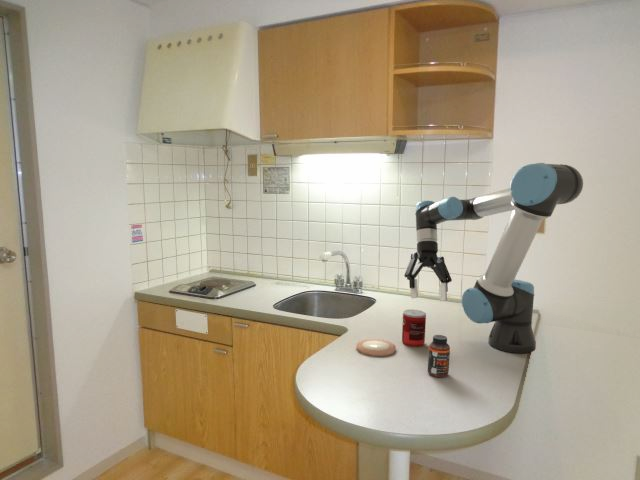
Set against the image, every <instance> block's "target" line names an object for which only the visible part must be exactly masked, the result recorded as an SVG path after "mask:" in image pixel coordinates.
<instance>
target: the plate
mask: <svg viewBox="0 0 640 480" xmlns="http://www.w3.org/2000/svg"><path fill="white" fill-rule="evenodd" d="M355 347H356V348H355V349H356V350H358V351H359V352H358V351H357V352H358V353H360V354H363V355H365V356H371V357H388V356H392V355H393V354H394V353H396V349H397V348H396V344H394V343H393V342H391V341H389V340H384V339H377V338H370V339H369V338H368V339H362V340H358V342H357V343H356V346H355Z"/></svg>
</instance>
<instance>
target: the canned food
mask: <svg viewBox="0 0 640 480" xmlns="http://www.w3.org/2000/svg"><path fill="white" fill-rule="evenodd" d="M426 320H427V313H426V312H425V311H422V310H420V309H406V310H403V312H402V325H401V326H402V330H401V331H402V333H401V337H402V338H401V341H402V342H401V343H403V345H405V346H408V347H412V348H414V347H415V348H418V347H419V348H420V347H423V346H424V345H425V341H426V326H427V325H426Z"/></svg>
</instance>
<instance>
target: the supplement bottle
mask: <svg viewBox="0 0 640 480" xmlns="http://www.w3.org/2000/svg"><path fill="white" fill-rule="evenodd" d="M450 352H451V347H450V344H449V343H448V337H447V336H445V335H442V334H435V335H433V336H432V341H431V342H430V343H429V345H428V356H427V357H428V360H427V362H428V363H427V374H428V375H430V376H432V377H433V378H434V377H435V378H445V377H447V376H448V375H449V370H450V355H451V353H450Z"/></svg>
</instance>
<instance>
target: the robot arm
mask: <svg viewBox="0 0 640 480" xmlns="http://www.w3.org/2000/svg"><path fill="white" fill-rule="evenodd" d="M583 188H584V179H583V176H582V174H581V173H580V171H579V170H577V169H576V168H575V167H573V166H572V165H568V164H559V163H558V164H557V163H556V164H554V163H545V162H536V163H530V164H527V165H524V166H522V167H520V168H519V169H518V170H517V171H516V172H515V173H514V175H513V176H512V178H511V181H510V186H509V188H506V189H501V190H498V191H494V192H490V193H486V194H483V195H481V196H477V197H473V198H469V199H459V198H458V197H456V196H450V197H446V198H443V199H441V200H439V201H436V202H434V201H433V200H423V201H419V202H417V203H416V205H415V226H416V242H417V243H416V252H412V253H411V254H410V260H409V262H408V264H407V268H406V270H405V273H404V278H406V280H408V282H409V289H410V297H411V299H417V298H419V290H418V287H419V286H418V279H417V277H418V275H419V273H420V272H421V271H422V269H423V268H428V269H429V268H430V269H431V270H433V272H434V273H435V275H436V276H437V279H438V280H439V282H440V283H439V294H440V295H439V297H440V302H446V301H448V294H447V293H448V291H449V289H448V284H449V283H452V281H453V280H452V277H451V274H450V272H449V270H448V267H447V265H446V262H445V258H444V256H443V255H442V256H438V251H439V247H438V245H439V243H438V227H437V226H438V224H441V223H445V222H448V221H449V222H450V221H468V220H470V221H471V220H472V221H477V220H480V219H483V218H484V217H488V216H493V215H497V214H502V213H506V212H511V213H510V217H509V218H508V221H507V223H506V226H505V227H504V230H503V232H502V234H501V236H500V239H499V242H498V243H497V246H496V248H495V251H494V253H493V255H492V256H491V260H490V262H489V264H488V266H487V269H486V271H485V273H484V274H481V275H479V276H478V277H477V279H476V282H475V284H474V286H473V287H469V288H467V289H466V290H465V291H464V292H463V294H462V296H461V305H462V308H463V311H464V313H465V315H466V317H467V318H468V319H469V320H470V321H471V322H473V323H475V324H490V323H493V322H494V323H493V326H492V328H491V329H490V330H491V331H490V332H489V335H488V345H489V346H491V347H492V348H495V349H496V350H500V351H503V352H507V353H514V354H529V353H532V352H534V351H536V346H537V342H536V338H535V334H534V331H533V327H532V325H533V312H534V311H533V310H534V300H535V298H534V297H535V286H534V284H532V283H531V282H529V281H524V280H520V279H516V277H517V274H518V273H519V271H520V268H521V266H522V264H523V262H524V261H525V258H526V257H527V253H528V252H529V250H530V247H531V245H532V243H533V241H534V239H535V237H536V235H537V233H538V230H539V228H540V227H541V224H542V222H543V220H545V219H548V218H550V217H552V214H553V212H554V210H555V208H556V207H557V205H564V204H568V203H571V202H574V201H575V200H576V199H577V198H578V197H579V196H580V194H581V193H582V192H583Z"/></svg>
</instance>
